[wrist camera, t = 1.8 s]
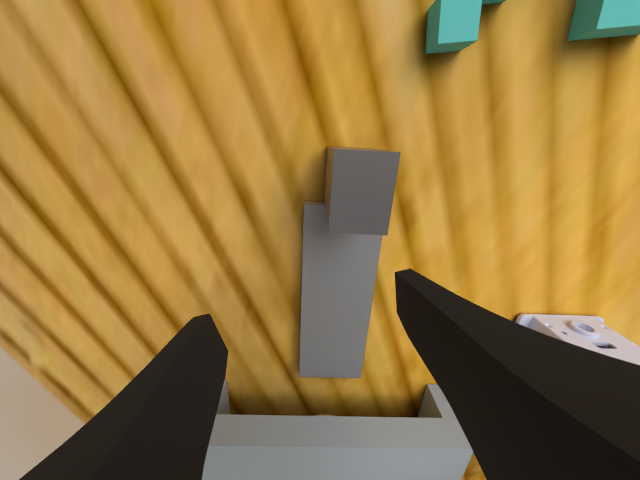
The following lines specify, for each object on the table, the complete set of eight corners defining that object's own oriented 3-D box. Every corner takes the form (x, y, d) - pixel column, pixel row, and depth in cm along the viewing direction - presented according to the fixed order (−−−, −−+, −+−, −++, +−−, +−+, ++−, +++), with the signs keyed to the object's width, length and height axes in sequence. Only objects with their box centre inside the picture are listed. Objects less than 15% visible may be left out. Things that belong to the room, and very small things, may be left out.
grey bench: (211, 379, 26) (183, 445, 20) (441, 384, 26) (474, 448, 21) (221, 441, 29) (198, 511, 24) (422, 443, 30) (446, 512, 24)
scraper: (306, 145, 18) (300, 147, 11) (390, 149, 18) (433, 154, 11) (299, 366, 25) (294, 444, 19) (358, 367, 25) (373, 445, 19)
